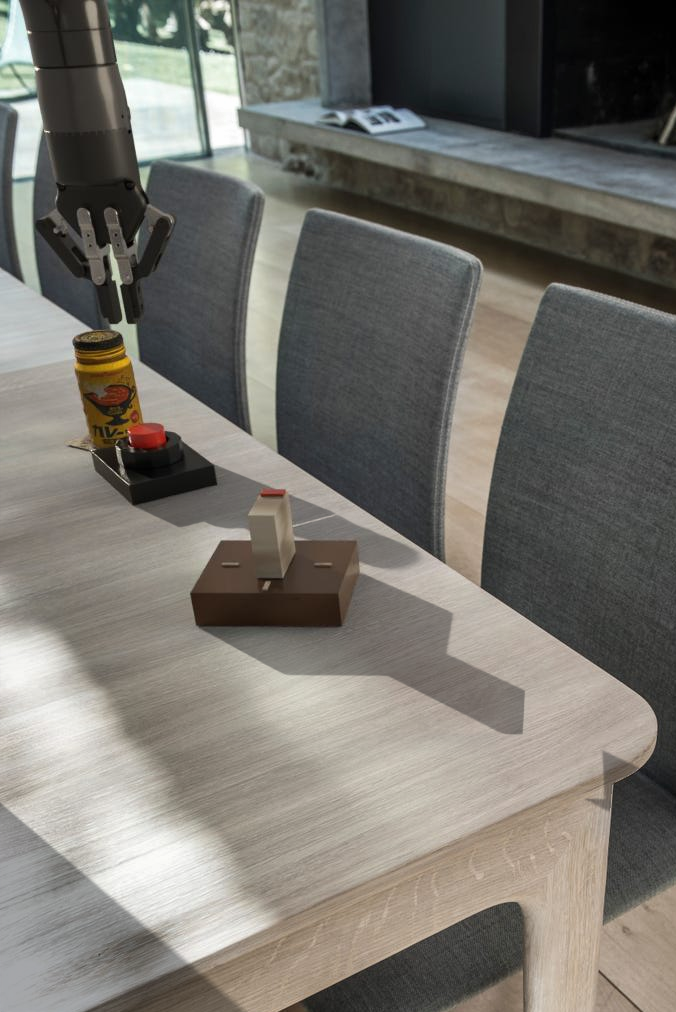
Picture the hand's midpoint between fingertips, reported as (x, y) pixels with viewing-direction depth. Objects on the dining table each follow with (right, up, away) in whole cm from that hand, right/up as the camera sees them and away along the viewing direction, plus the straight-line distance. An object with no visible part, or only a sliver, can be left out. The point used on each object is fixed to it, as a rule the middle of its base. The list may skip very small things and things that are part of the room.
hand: (125, 321), depth 112 cm
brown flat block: (+18, -29, -15) cm, 37 cm away
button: (0, -10, +7) cm, 12 cm away
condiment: (-7, -7, +19) cm, 21 cm away
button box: (0, -13, +9) cm, 16 cm away
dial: (+18, -26, -17) cm, 35 cm away
